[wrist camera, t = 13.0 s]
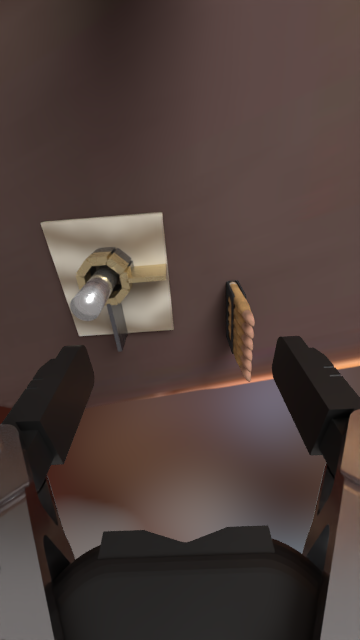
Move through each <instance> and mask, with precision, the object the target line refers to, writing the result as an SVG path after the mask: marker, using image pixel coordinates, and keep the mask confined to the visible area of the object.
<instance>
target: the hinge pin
mask: <svg viewBox="0 0 360 640" xmlns="http://www.w3.org/2000/svg"><path fill="white" fill-rule="evenodd" d="M119 278H120V275H119V274H118V273H117V272H115V271H114V270H113V269H111V268H110V267H109V266H107V265H101V266H100V267H99V268H98V270H97V271H96V272H95V273H94V274H93V275H92V277H91V278H90V279H89V280H88V281H87V283H86V284H85V285H84V286H83V287H82V288H81V290H80V291H79V292H78V293H77V294H76V295H75V297H74V298H73V299H72V300H71V302H70V309H71V311H72V313H73V314H74V315H75V316H76V317H77V318H79V319H81V320H84V321H92V320H94V319H96V318H97V317H98V316H99V314H100V312H101V310H102V309H103V307H104V305H105V303H106V301H107V300H108V298H109V296H110V294H111V292H112V291H113V289H114V287H115V285H116V284H117V282H118V280H119Z"/></svg>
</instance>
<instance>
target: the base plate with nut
mask: <svg viewBox="0 0 360 640" xmlns="http://www.w3.org/2000/svg"><path fill="white" fill-rule="evenodd" d="M41 226H42V229H43V232H44V235H45V238H46V241H47V244H48V247H49V250H50V253H51V255H52V258H53V261H54V264H55V267H56V270H57V273H58V276H59V279H60V282H61V285H62V288H63V291H64V293H65V296H66V299H67V302H68V305H69V308H70V302H71V300H72V299H73V298H74V297H75V295H76V294H77V293H78V292H79V291H80V290H81V288H82V287H83V286H84V285H85V284H86V283H87V281H88V280H89V279H90V278H91V277H92V275H93V274H94V273H95V272H96V271H97V270H98V268H99V267H100V266H101V265H107V266H109V267H110V268H111V269H113V270H114V271H115V272H117V273H118V274H119V275H120V278H119V280H118V282H117V284H116V285H115V287H114V289H113V291H112V292H111V294H110V296H109V298H108V300H107V301H106V303H105V305H104V307H103V309H102V310H101V312H100V314H99V316H98V317H97V318H96V319H94V320H92V321H84V320H81V319H79V318H77V317H76V316H75V315H74V314H73V313H72V311H71V309H70V311H71V314H72V317H73V320H74V323H75V326H76V329H77V332H78V334H79V336H90V335H104V334H114V337H115V341H116V345H117V349H118V351H122V350H123V347H124V344H125V340H126V337H127V334H128V333H133V332H148V331H162V330H173V327H174V325H173V315H172V305H171V295H170V285H169V275H168V265H167V255H166V245H165V235H164V225H163V215H162V212H156V213H143V214H131V215H118V216H106V217H93V218H81V219H69V220H56V221H45V222H42V223H41Z"/></svg>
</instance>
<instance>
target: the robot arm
mask: <svg viewBox="0 0 360 640" xmlns="http://www.w3.org/2000/svg"><path fill="white" fill-rule="evenodd" d="M272 373H273V378H274V380H275V382H276V385H277V387H278V389H279V391H280V393H281V395H282V397H283V399H284V402H285V403H286V406H287V408H288V410H289V412H290V414H291V416H292V418H293V421H294V423H295V425H296V427H297V429H298V431H299V433H300V435H301V437H302V440H303V442H304V444H305V446H306V448H307V450H308V452H309V454H310V455H323V457H324V459H325V460H326V462H327V463H326V465H325V468H324V472H323V476H322V481H321V485H320V490H319V494H318V498H317V503H316V507H315V512H314V516H313V521H312V524H311V527H310V530H309V532H308V535H307V538H306V542H305V545H304V549H303V553H302V554H301V553H300V552H298V551H297V550H295V549H293V548H292V547H290V546H289V545H286V544H284V543H282V542H280V541H278V540H274V539H272V538H271V535H270V531H269V527H268V526H242V527H226V528H224V529H221V530H219V531H216V532H214V533H211V534H208V535H206V536H203V537H201V538H199V539H196V540H193V541H190V542H187V543H186V542H180V541H177V540H174V539H170V538H167V537H164V536H161V535H157V534H154V533H151V532H148V531H145V530H135V531H110V532H109V531H108V532H103V536H102V542H101V545H100V546H97V547H95V548H93V549H91V550H89V551H88V552H86V553H85V554H83V555H81V556H80V557H79V558H77V559H76V560H75V557H74V554H73V551H72V548H71V546H70V543H69V541H68V539H67V537H66V535H65V533H64V530H63V527H62V524H61V520H60V517H59V514H58V510H57V507H56V503H55V499H54V496H53V493H52V490H51V486H50V482H49V479H48V477H47V473H48V470H49V468H50V466H51V465H56V464H64V461H65V459H66V456H67V454H68V451H69V449H70V446H71V443H72V441H73V438H74V435H75V433H76V430H77V428H78V425H79V423H80V420H81V417H82V415H83V412H84V410H85V407H86V404H87V402H88V399H89V397H90V394H91V391H92V389H93V386H94V372H93V369H92V365H91V362H90V359H89V356H88V353H87V350H86V347H85V346H84V345H79V346H64V347H63V348H62V349H61V351H60V352H59V354H58V356H57V357H56V359H51V360H49V361H48V362H47V363H46V364H44V365H43V366H42V367H41V368H40V369H39V370H38V372H37V373H36V375H35V376H34V378H33V380H32V381H31V382H30V383H29V385H28V386H27V389H25V391H24V392H23V394H22V395H21V396H20V398H19V399H18V401H17V402H16V404H15V405H14V407H13V408H12V409H11V411H10V412H9V414H8V415H7V417H6V418H5V420H4V421H3V422H2V424H1V425H0V640H360V397H359V396H358V395H357V394H356V393H355V391H354V390H353V389H352V388H351V387H350V385H349V384H348V383H347V381H346V380H345V379H344V378H343V376H341V375H340V373H339V372H338V370H337V369H336V368H334V365H333V364H332V363H331V362H330V361H329V359H328V358H327V357H326V356H325V355H324V354H322V353H321V352H319V351H318V350H316V349H315V348H309V347H308V346H307V345H306V343H305V342H304V341H303V339H302V338H301V337H300V336H287V337H279V338H278V340H277V344H276V349H275V354H274V359H273V364H272Z"/></svg>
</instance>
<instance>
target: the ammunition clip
mask: <svg viewBox="0 0 360 640" xmlns="http://www.w3.org/2000/svg"><path fill="white" fill-rule="evenodd" d="M254 324H255V322H254V317H253V315H252V312H251V310H250V306H249V304H248V302H247V300H246V294H245V292H244V291H243V289H242V287H241V285H240V283H239V282H238V281H228V282H226V337H227V340H228V343H229V346H230V349H231V352H232V354H234V356H235V359H236V361H237V363H238V365H239V367H240V369H241V371H242V374H243V375H244V377H245V378H246V380H247V381H249V382H250V381H251V373H250V372H251V369H252V366H251V361H252V352H251V350H253V342H252V339H253V337H254V332H253V328H252V327H253V326H254Z"/></svg>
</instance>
